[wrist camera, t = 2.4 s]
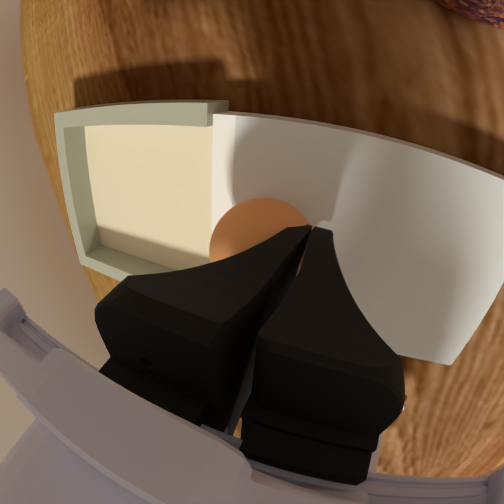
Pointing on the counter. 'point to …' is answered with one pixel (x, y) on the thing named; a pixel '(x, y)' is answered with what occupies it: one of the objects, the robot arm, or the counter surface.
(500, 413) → the counter surface
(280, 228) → the ball
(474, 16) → the bell
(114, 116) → the tray
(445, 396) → the counter surface
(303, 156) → the plate
